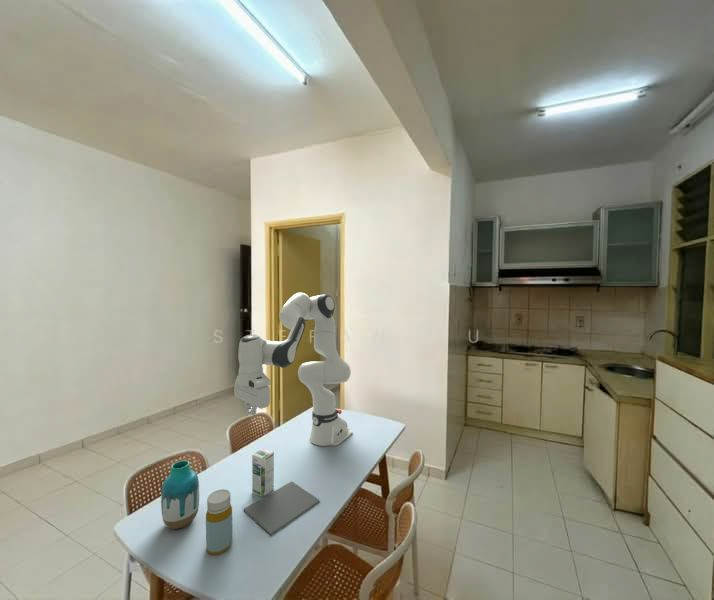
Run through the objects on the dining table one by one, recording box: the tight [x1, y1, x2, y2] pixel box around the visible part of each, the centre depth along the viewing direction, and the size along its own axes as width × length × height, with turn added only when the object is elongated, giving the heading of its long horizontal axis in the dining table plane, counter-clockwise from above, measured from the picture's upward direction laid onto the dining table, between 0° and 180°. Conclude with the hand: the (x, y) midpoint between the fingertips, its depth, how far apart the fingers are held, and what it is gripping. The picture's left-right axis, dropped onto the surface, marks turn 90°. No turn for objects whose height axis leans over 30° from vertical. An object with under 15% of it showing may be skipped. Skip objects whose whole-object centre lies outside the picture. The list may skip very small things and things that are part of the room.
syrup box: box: [251, 448, 275, 498], centre depth 115 cm, size 6×6×14 cm
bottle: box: [205, 488, 233, 556], centre depth 91 cm, size 7×7×15 cm
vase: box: [160, 459, 200, 530], centre depth 99 cm, size 11×11×19 cm
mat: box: [243, 481, 321, 536], centre depth 107 cm, size 20×16×1 cm
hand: (251, 413), depth 119 cm, fingers closed
